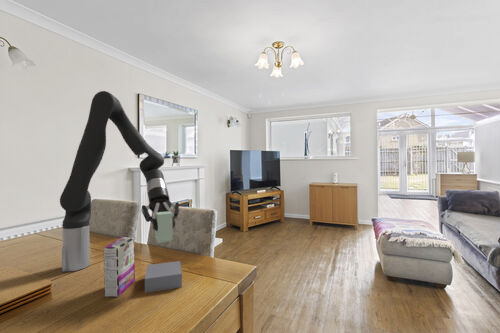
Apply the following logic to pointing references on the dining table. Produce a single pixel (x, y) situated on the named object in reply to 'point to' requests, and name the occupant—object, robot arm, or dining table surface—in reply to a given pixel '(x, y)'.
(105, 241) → the dining table surface
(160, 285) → the base block
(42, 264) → the dining table surface
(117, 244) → the candy bar box
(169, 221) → the sage block
